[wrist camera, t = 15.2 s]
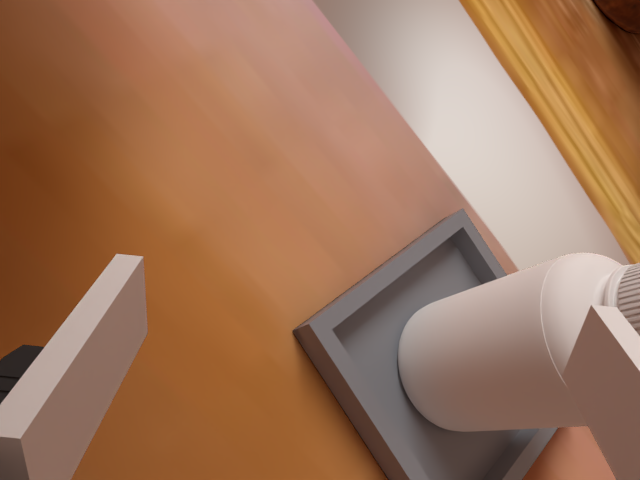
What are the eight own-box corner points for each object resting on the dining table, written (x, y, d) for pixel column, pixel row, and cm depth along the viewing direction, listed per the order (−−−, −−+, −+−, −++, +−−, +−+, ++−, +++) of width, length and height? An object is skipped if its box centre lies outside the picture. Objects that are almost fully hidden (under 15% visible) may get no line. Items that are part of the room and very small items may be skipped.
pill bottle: (510, 369, 36) (767, 329, 24) (453, 461, 32) (733, 471, 19) (438, 278, 36) (661, 190, 23) (369, 359, 31) (600, 302, 19)
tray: (292, 330, 30) (308, 323, 28) (443, 219, 38) (462, 208, 37) (438, 556, 30) (463, 563, 28) (557, 393, 38) (583, 391, 36)
